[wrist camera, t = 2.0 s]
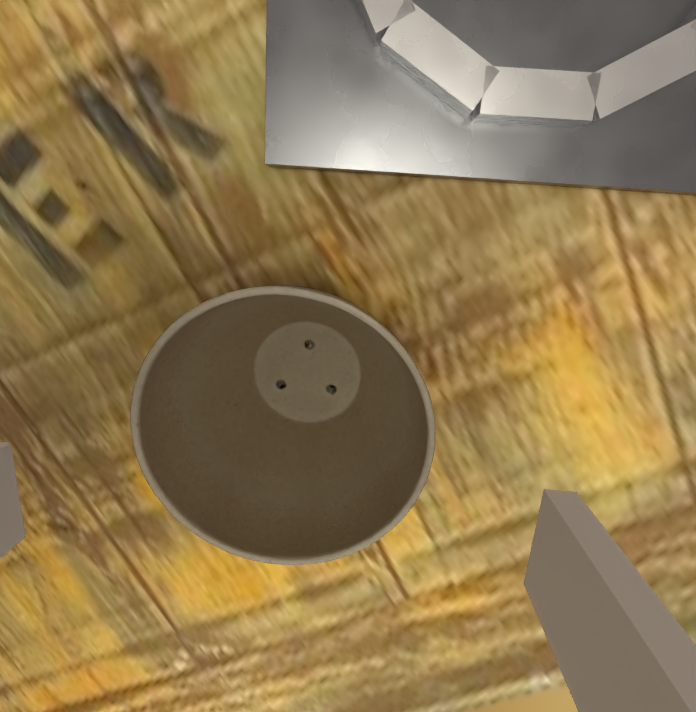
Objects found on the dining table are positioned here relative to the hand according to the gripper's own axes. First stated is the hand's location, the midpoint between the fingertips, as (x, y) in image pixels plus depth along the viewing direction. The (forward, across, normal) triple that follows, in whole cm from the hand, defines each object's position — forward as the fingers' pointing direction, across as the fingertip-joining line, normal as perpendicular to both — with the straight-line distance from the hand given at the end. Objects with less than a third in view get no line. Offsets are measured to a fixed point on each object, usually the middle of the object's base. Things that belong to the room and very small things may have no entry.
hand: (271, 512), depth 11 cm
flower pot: (+11, -1, 0) cm, 11 cm away
